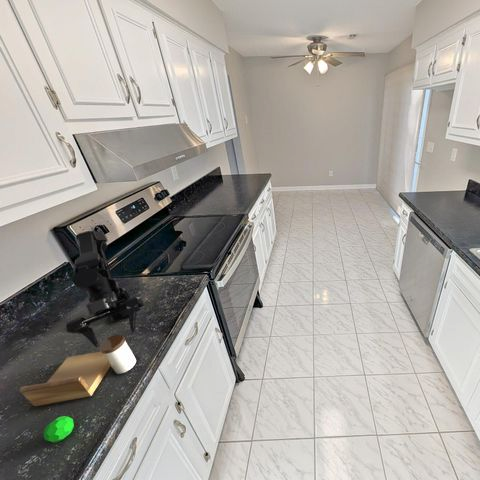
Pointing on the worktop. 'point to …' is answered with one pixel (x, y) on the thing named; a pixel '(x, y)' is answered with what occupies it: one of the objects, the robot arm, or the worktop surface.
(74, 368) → the wooden ramp
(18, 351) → the worktop surface
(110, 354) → the cylinder
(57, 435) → the polyhedron
